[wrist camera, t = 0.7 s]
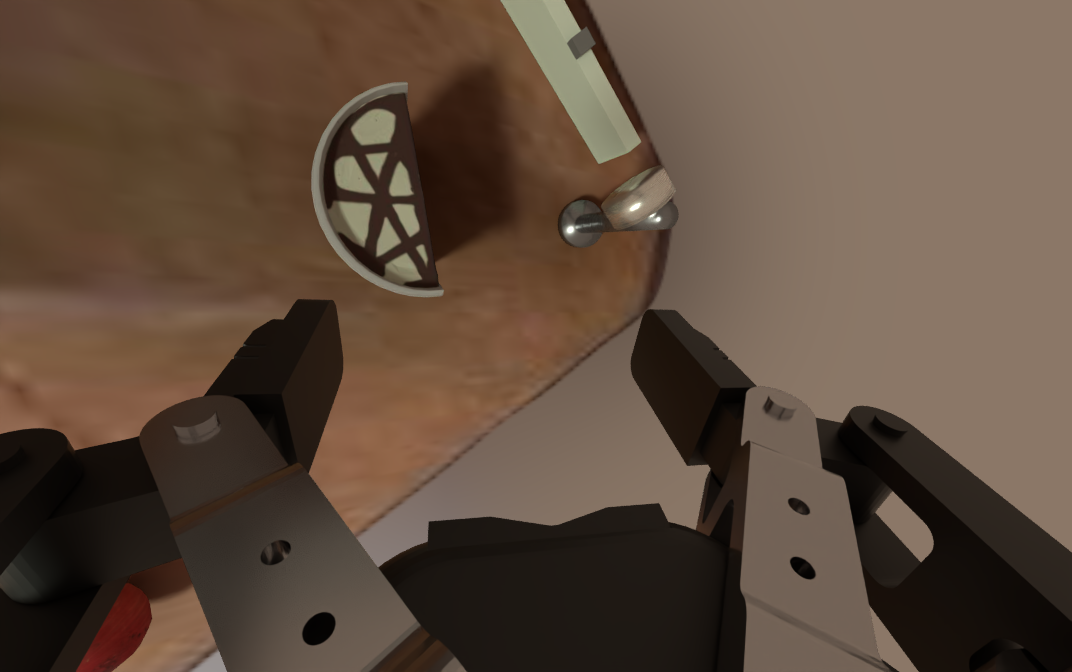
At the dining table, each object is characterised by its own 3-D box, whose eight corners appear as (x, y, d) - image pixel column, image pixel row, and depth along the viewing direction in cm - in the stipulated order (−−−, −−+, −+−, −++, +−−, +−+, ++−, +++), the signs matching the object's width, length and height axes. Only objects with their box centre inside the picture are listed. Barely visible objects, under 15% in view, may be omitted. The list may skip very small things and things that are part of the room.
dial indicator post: (545, 218, 37) (623, 205, 24) (582, 187, 37) (677, 159, 25) (572, 257, 38) (659, 264, 26) (608, 227, 39) (709, 220, 26)
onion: (190, 583, 33) (133, 680, 26) (127, 636, 33) (49, 751, 25) (122, 542, 31) (39, 634, 24) (53, 597, 31) (-55, 711, 23)
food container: (311, 125, 30) (275, 72, 20) (400, 121, 32) (405, 71, 22) (350, 297, 33) (335, 317, 24) (430, 284, 35) (445, 299, 25)
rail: (485, -25, 31) (505, -81, 26) (499, -35, 31) (522, -93, 26) (598, 164, 37) (633, 150, 32) (610, 154, 37) (647, 139, 32)
